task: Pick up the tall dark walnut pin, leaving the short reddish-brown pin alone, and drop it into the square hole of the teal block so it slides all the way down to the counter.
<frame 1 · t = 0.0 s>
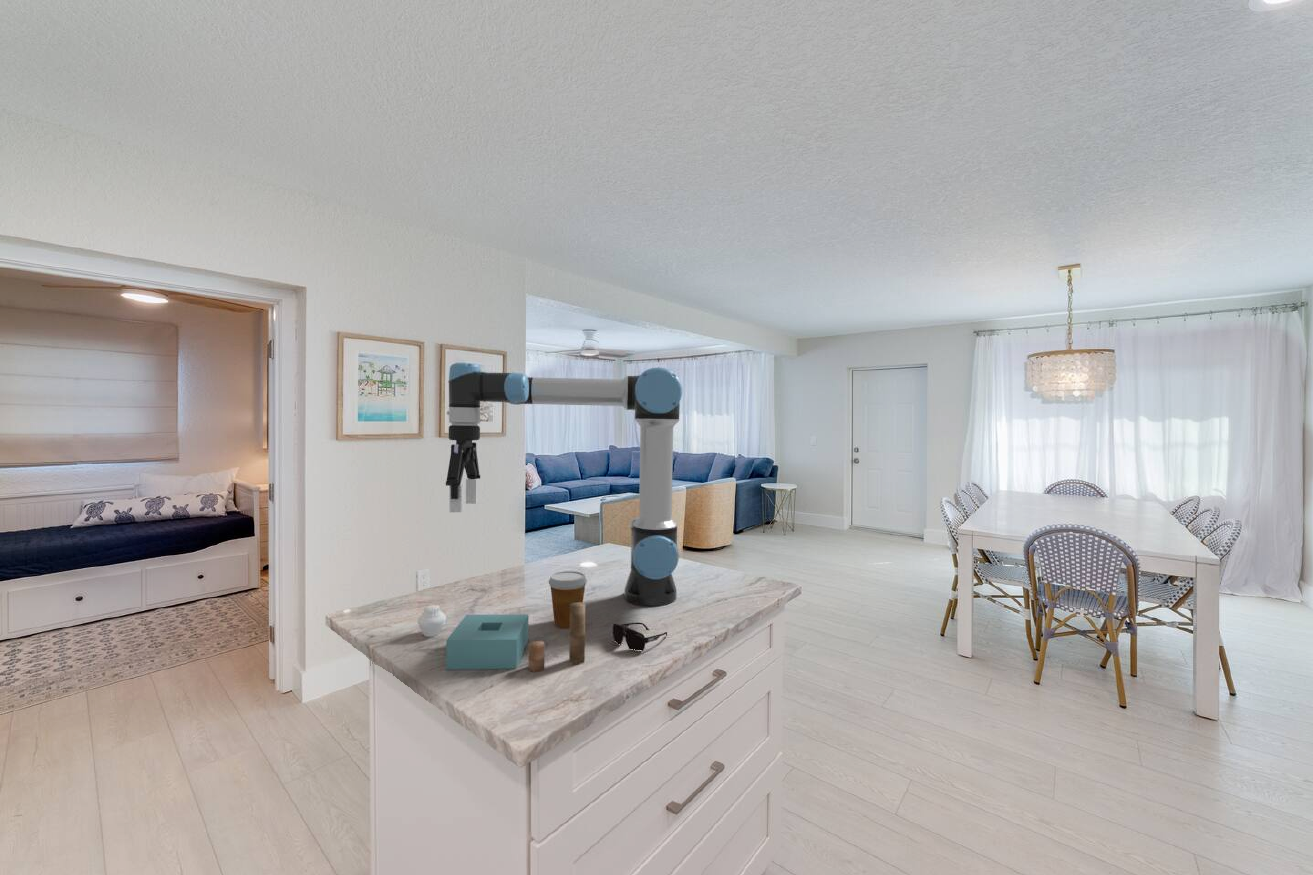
hand: (463, 507, 135), 28 cm above the countertop, tool pointing down, fingers open, 13 cm apart
hole block: (489, 653, 114), on the countertop
white ribbed jar: (431, 635, 123), on the countertop
tall pin: (576, 660, 111), on the countertop
disposable coffee cup: (567, 623, 132), on the countertop
sunglasses: (641, 642, 122), on the countertop
short pin: (536, 668, 108), on the countertop
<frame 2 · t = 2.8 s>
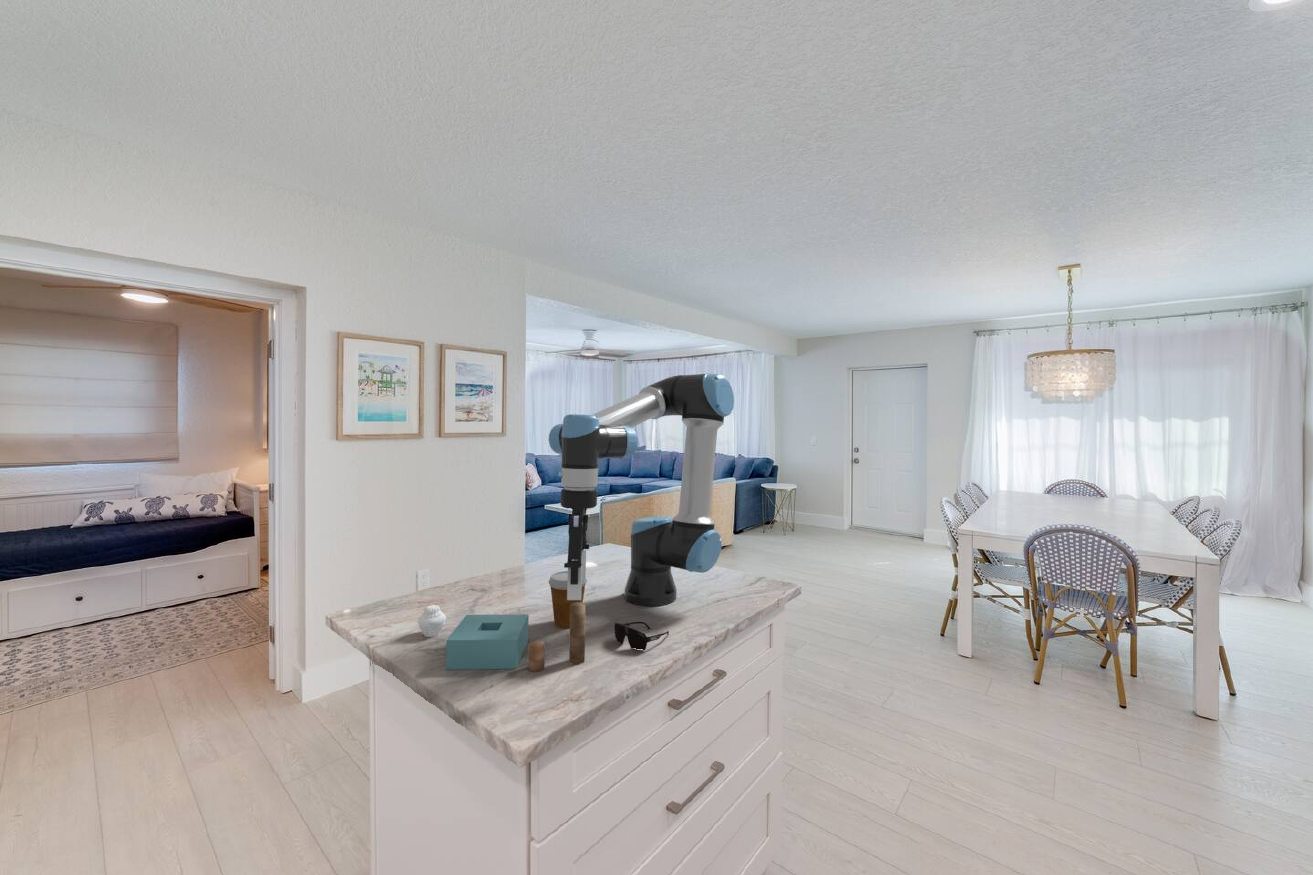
hand: (576, 589, 110), 15 cm above the countertop, tool pointing down, fingers open, 13 cm apart
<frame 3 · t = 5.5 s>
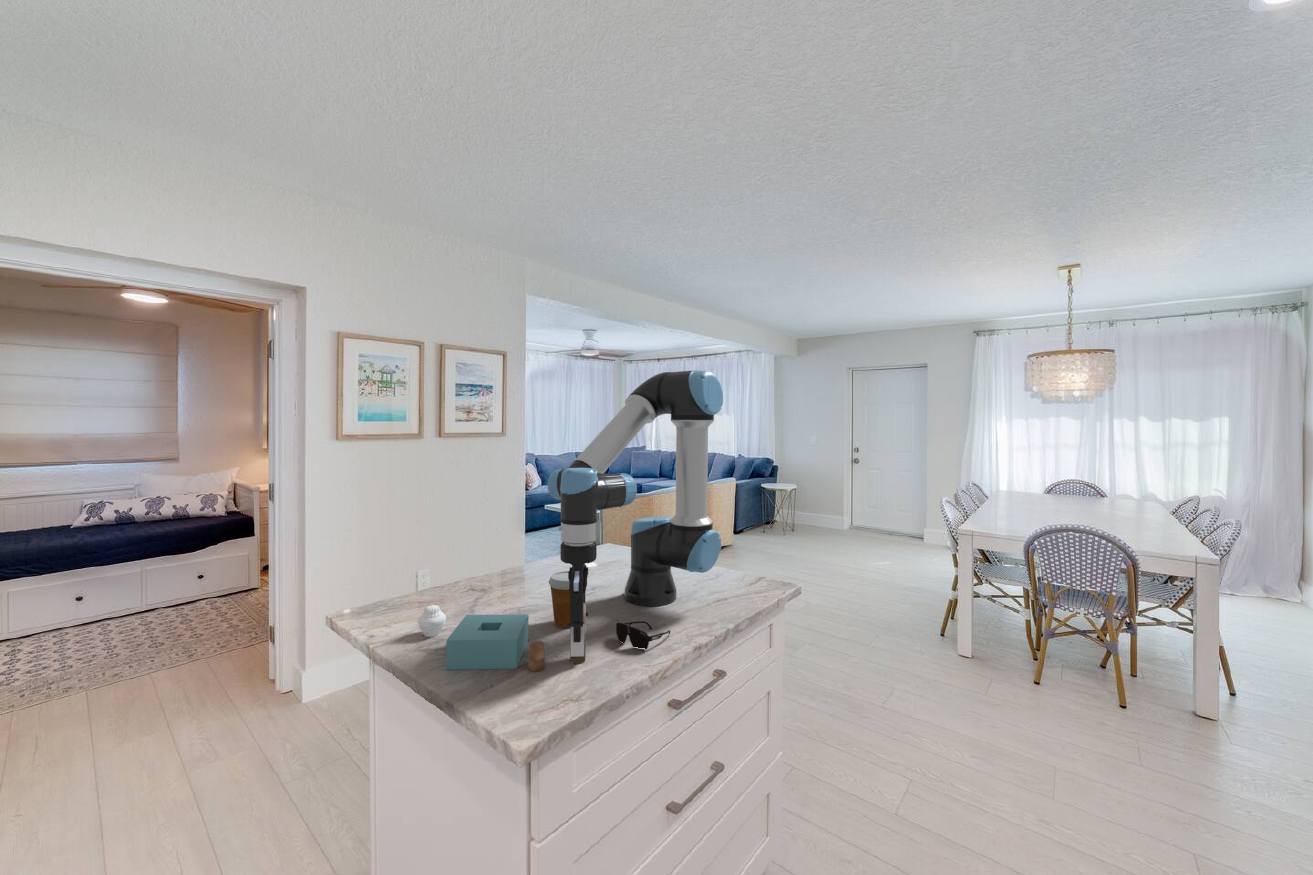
hand: (577, 651, 111), 2 cm above the countertop, tool pointing down, fingers closed on tall pin, 3 cm apart
tall pin: (577, 660, 111), on the countertop, touching gripper
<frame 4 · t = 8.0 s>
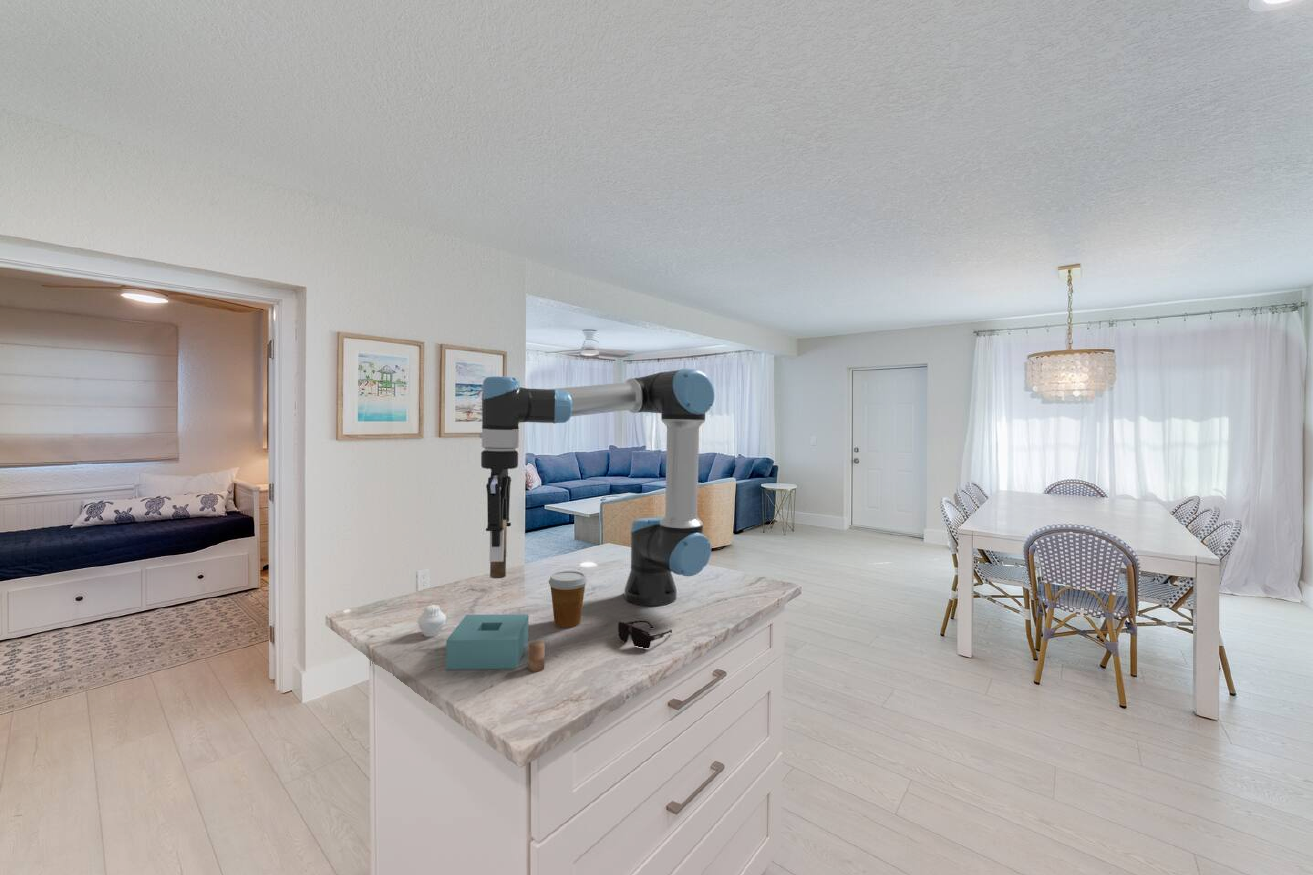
hand: (498, 558, 113), 21 cm above the countertop, tool pointing down, fingers closed on tall pin, 3 cm apart
tall pin: (497, 576, 113), point 17 cm above the countertop, touching gripper
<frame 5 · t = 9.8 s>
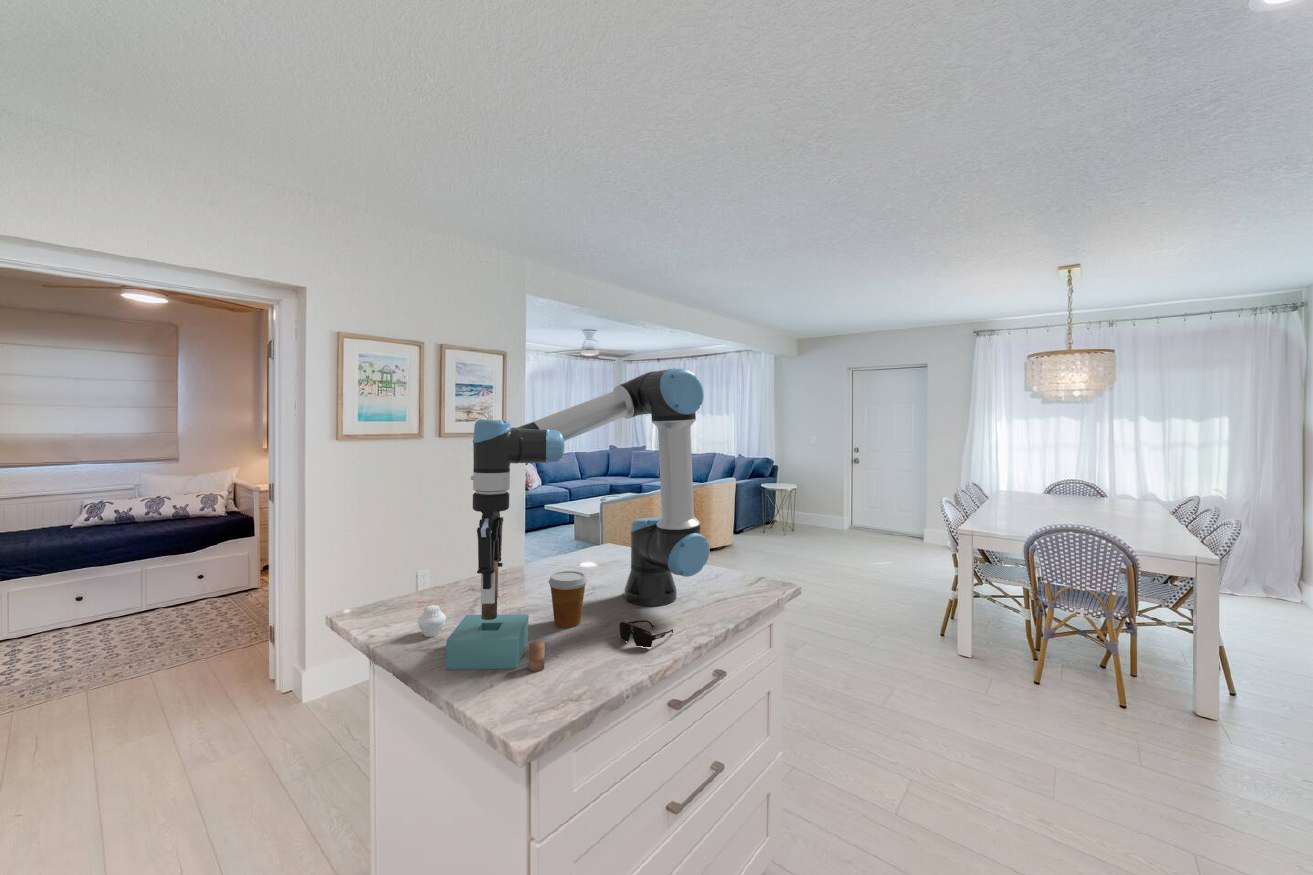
hand: (489, 599, 113), 12 cm above the countertop, tool pointing down, fingers closed on tall pin, 3 cm apart
tall pin: (489, 617, 113), point 8 cm above the countertop, touching gripper
when the fingers open (9 cm above the countertop, at t = 11.1 s): tall pin drops 5 cm, on the countertop.
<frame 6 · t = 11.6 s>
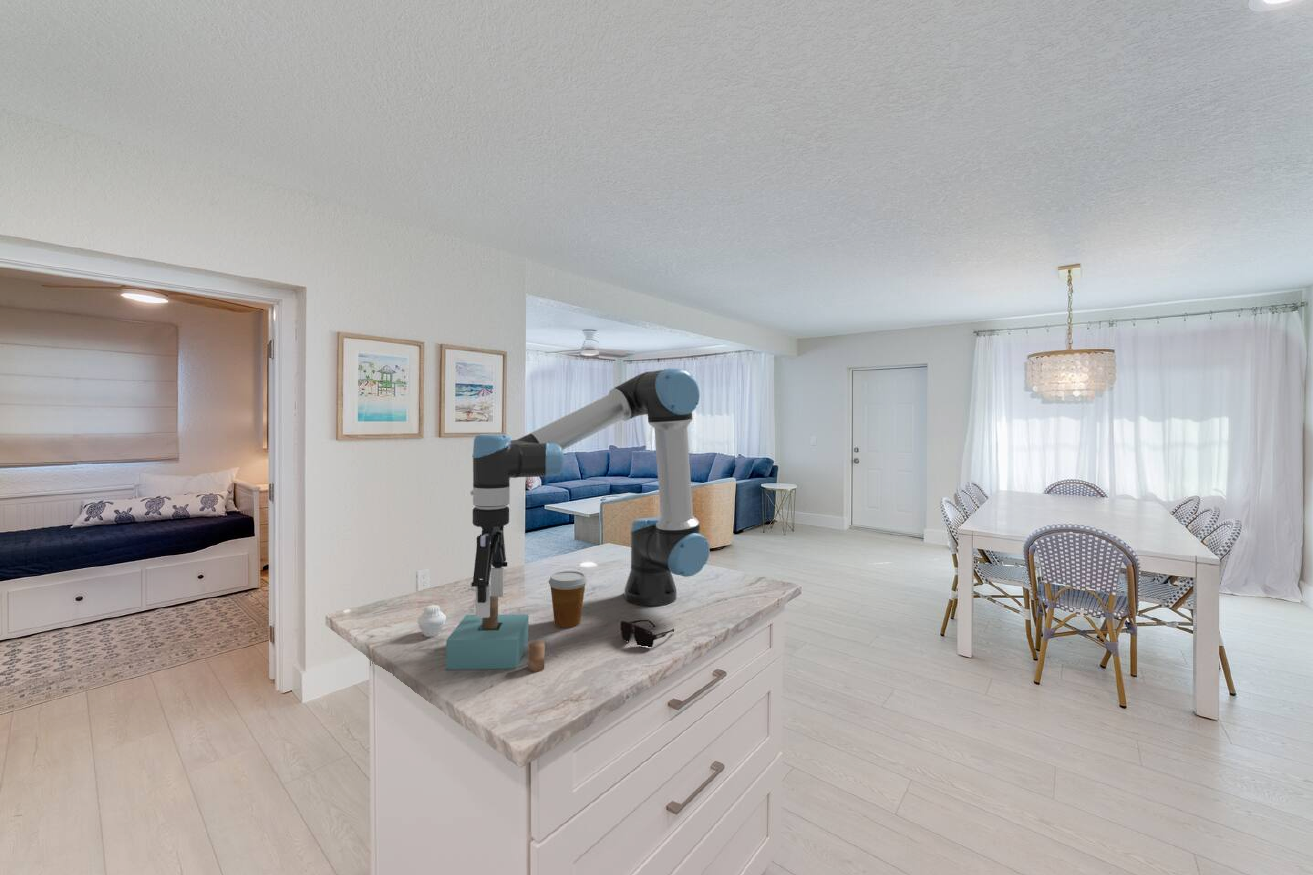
hand: (490, 606, 113), 10 cm above the countertop, tool pointing down, fingers open, 12 cm apart
tall pin: (489, 653, 114), on the countertop
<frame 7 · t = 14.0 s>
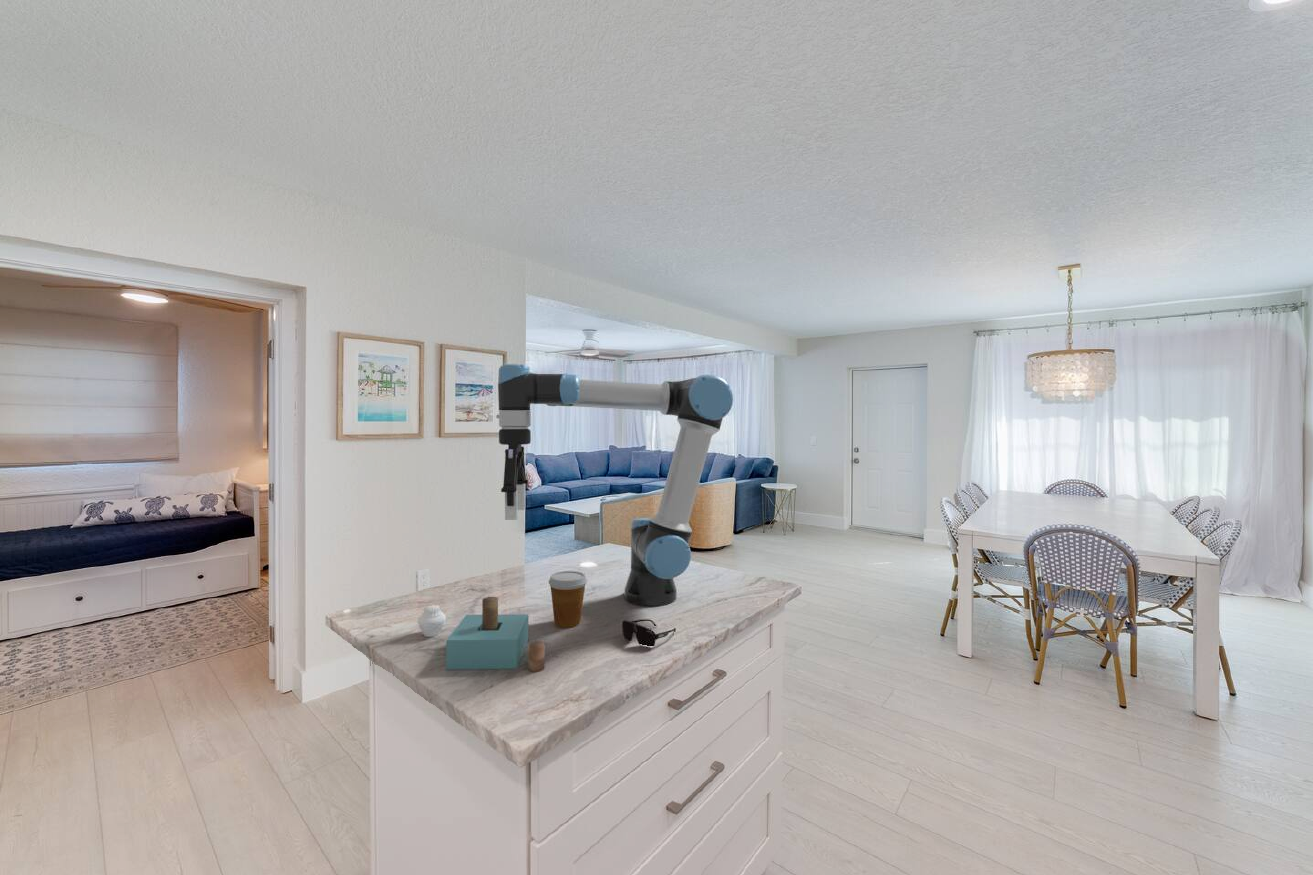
hand: (515, 514, 129), 27 cm above the countertop, tool pointing down, fingers open, 13 cm apart
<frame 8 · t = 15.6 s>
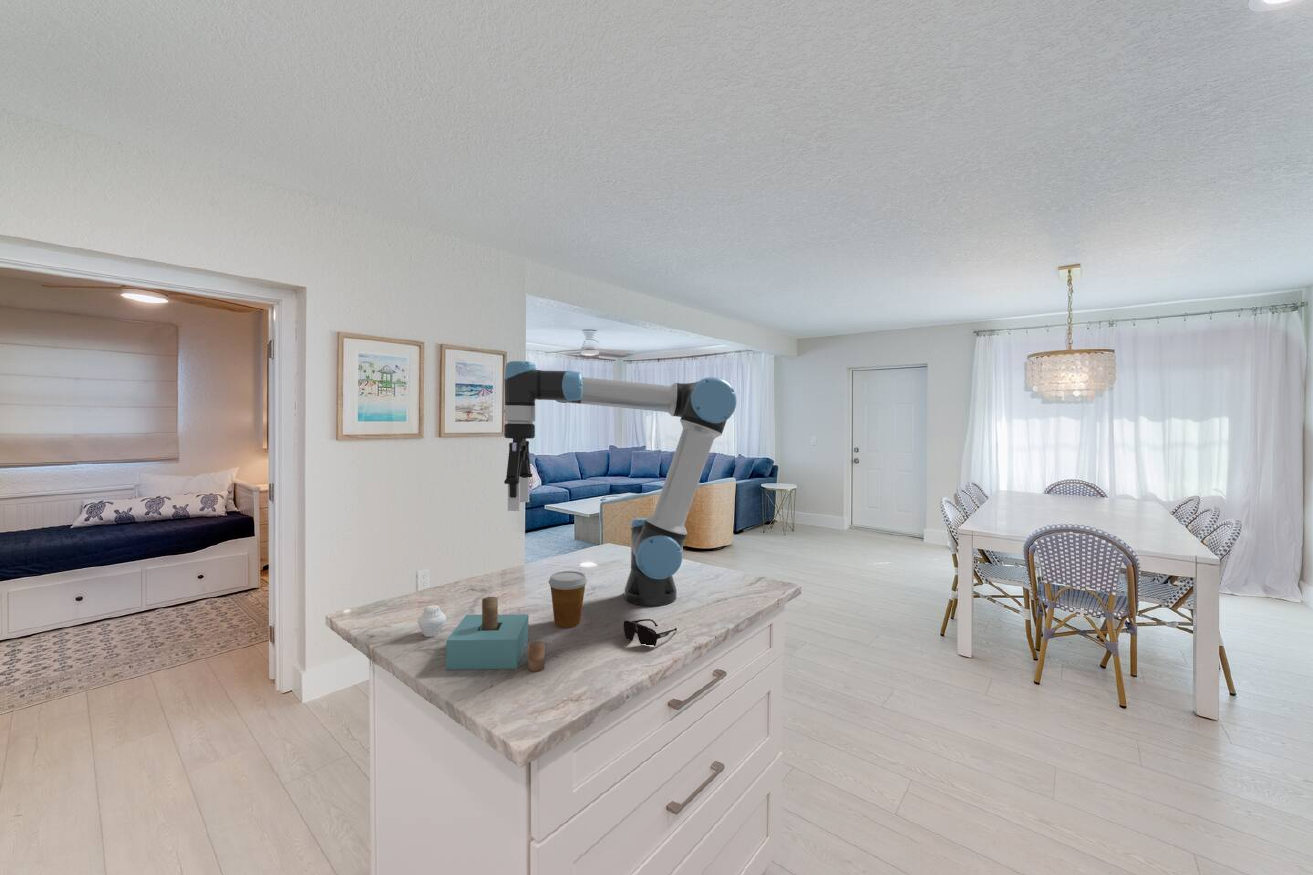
hand: (518, 506, 134), 29 cm above the countertop, tool pointing down, fingers open, 13 cm apart
at the end: tall pin 0.1 cm from the hole block (horizontally); tall pin on the countertop; short pin moved 0.0 cm from its start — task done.
